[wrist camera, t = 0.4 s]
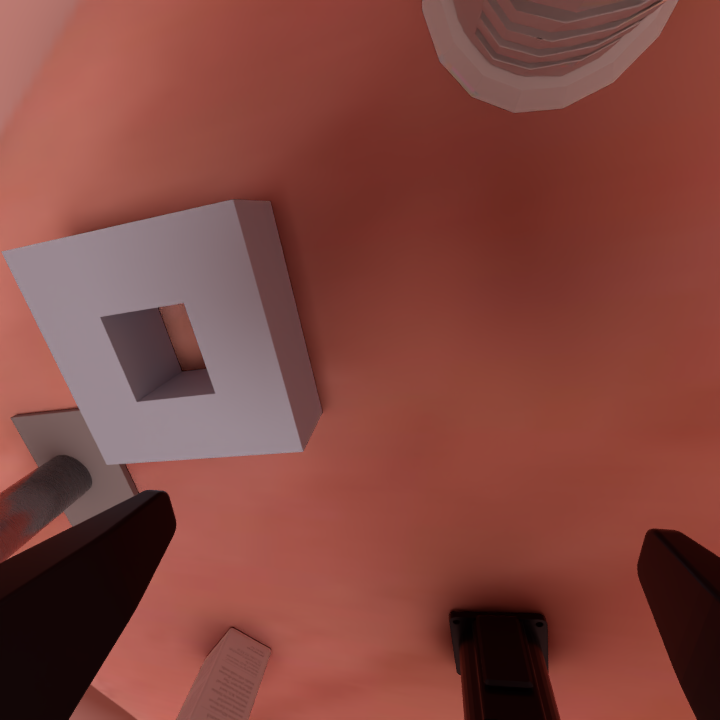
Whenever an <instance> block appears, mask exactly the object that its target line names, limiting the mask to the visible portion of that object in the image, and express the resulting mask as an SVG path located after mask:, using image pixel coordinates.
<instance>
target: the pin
mask: <svg viewBox="0 0 720 720" xmlns="http://www.w3.org/2000/svg"><path fill="white" fill-rule="evenodd" d="M91 486H92V478H91V475H90V473H89V471H88V470H87V468H86V467H85V466H84V465H83V464H82V463H81V462H79V461H78V460H76V459H75V458H73V457H70V456H67V455H57V456H55V457H53V458H52V459H50V460H49V461H47V462H46V463H44V464H43V465H41V466H40V467H38V468H37V469H35V470H34V471H32V472H31V473H29V474H28V475H26V476H25V477H23V478H22V479H20V480H19V481H17V482H16V483H14V484H13V485H12V486H10V487H9V488H7V489H6V490H4V491H3V492H1V493H0V563H1V562H3V561H5V560H6V559H8V558H9V557H10V556H11V555H12V554H13V553H15V552H16V551H17V550H18V549H19V548H21V547H22V546H23V545H24V544H25V543H27V542H28V541H29V540H30V539H31V538H32V537H34V536H35V535H36V534H37V533H38V532H40V531H41V530H42V529H43V528H44V527H46V526H47V525H48V524H49V523H50V522H52V521H53V520H54V519H55V518H56V517H57V516H59V515H60V514H61V513H62V512H63V511H65V510H66V509H67V508H68V507H69V506H71V505H72V504H73V503H74V502H75V501H76V500H78V499H79V498H80V497H81V496H82V495H84V494H85V493H86V492H87V491H88V490H89V489H90V488H91Z"/></svg>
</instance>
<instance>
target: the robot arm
mask: <svg viewBox="0 0 720 720" xmlns="http://www.w3.org/2000/svg"><path fill="white" fill-rule="evenodd" d="M175 530H176V519H175V515H174V511H173V508H172V504H171V501H170V497H169V495H168V494H167V493H166V492H165V491H159V490H145V491H143V492H141V493H139V494H137V495H135V496H133V497H131V498H129V499H127V500H125V501H123V502H121V503H119V504H117V505H115V506H113V507H111V508H109V509H107V510H105V511H103V512H101V513H99V514H97V515H95V516H93V517H91V518H89V519H87V520H85V521H83V522H81V523H79V524H77V525H75V526H73V527H71V528H69V529H67V530H65V531H63V532H61V533H59V534H57V535H55V536H53V537H51V538H49V539H47V540H45V541H43V542H41V543H39V544H37V545H35V546H33V547H31V548H29V549H27V550H25V551H23V552H21V553H19V554H17V555H15V556H13V557H11V558H9V559H7V560H5V561H3V562H1V563H0V720H69V718H70V717H71V715H72V713H73V712H74V710H75V708H76V707H77V705H78V703H79V702H80V700H81V699H82V697H83V695H84V694H85V692H86V690H87V689H88V687H89V686H90V684H91V682H92V681H93V679H94V677H95V676H96V674H97V672H98V671H99V669H100V668H101V666H102V664H103V663H104V661H105V659H106V658H107V656H108V655H109V653H110V651H111V650H112V648H113V646H114V645H115V643H116V641H117V640H118V638H119V637H120V635H121V633H122V632H123V630H124V628H125V627H126V625H127V624H128V622H129V620H130V618H131V617H132V615H133V613H134V612H135V610H136V608H137V606H138V604H139V602H140V601H141V599H142V597H143V595H144V593H145V591H146V589H147V587H148V585H149V583H150V581H151V579H152V577H153V575H154V573H155V571H156V569H157V567H158V565H159V563H160V561H161V559H162V557H163V555H164V553H165V551H166V549H167V547H168V545H169V543H170V541H171V539H172V537H173V535H174V533H175ZM637 571H638V577H639V580H640V583H641V585H642V588H643V591H644V593H645V596H646V598H647V601H648V604H649V606H650V609H651V611H652V614H653V616H654V619H655V622H656V624H657V627H658V629H659V632H660V635H661V637H662V640H663V642H664V645H665V648H666V650H667V653H668V655H669V658H670V661H671V663H672V666H673V668H674V671H675V673H676V675H677V678H678V680H679V683H680V685H681V687H682V689H683V691H684V694H685V696H686V698H687V700H688V702H689V704H690V706H691V708H692V710H693V712H694V714H695V716H696V719H697V720H720V557H718V556H717V555H715V554H714V553H712V552H711V551H709V550H707V549H706V548H704V547H703V546H701V545H700V544H698V543H697V542H695V541H694V540H692V539H691V538H689V537H688V536H686V535H684V534H683V533H681V532H679V531H676V530H667V529H650V530H648V531H647V533H646V535H645V538H644V542H643V545H642V549H641V553H640V556H639V560H638V564H637ZM449 623H450V630H451V636H452V643H453V650H454V656H455V663H456V670H457V673H458V674H459V675H461V683H462V695H463V708H464V720H560V716H559V712H558V708H557V705H556V701H555V697H554V693H553V690H552V686H551V682H550V678H549V675H548V629H547V622H546V618H545V616H543V615H542V614H530V613H490V612H452V613H450V614H449Z"/></svg>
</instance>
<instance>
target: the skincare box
mask: <svg viewBox="0 0 720 720" xmlns="http://www.w3.org/2000/svg"><path fill="white" fill-rule="evenodd" d="M270 654H271V650H270V648H268V647H266V646H265V645H263V644H261V643H259V642H257V641H255V640H254V639H252V638H250V637H248V636H247V635H245V634H243V633H242V632H240V631H238V630H236V629H234V628H230V630H229V631H228V632H227V633H226V634H225V636H224V637H223V638H222V639H221V640H220V642H219V643H218V644H217V645H216V646H215V648H214V649H213V650H212V651H211V653H210V654H209V655H208V656H207V657H206V658H205V660H204V662H203V664H202V666H201V668H200V670H199V673H198V675H197V677H196V679H195V681H194V683H193V685H192V687H191V689H190V691H189V693H188V695H187V698H186V700H185V702H184V704H183V706H182V708H181V710H180V712H179V714H178V717H177V719H176V720H248V719H249V716H250V713H251V710H252V707H253V704H254V701H255V698H256V695H257V692H258V689H259V687H260V684H261V681H262V678H263V675H264V672H265V668H266V665H267V662H268V659H269V657H270Z"/></svg>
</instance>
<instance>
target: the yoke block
mask: <svg viewBox="0 0 720 720" xmlns="http://www.w3.org/2000/svg"><path fill="white" fill-rule="evenodd" d="M2 254H3V256H4V258H5V260H6V262H7V264H8V266H9V268H10V270H11V272H12V274H13V276H14V278H15V280H16V282H17V284H18V286H19V288H20V290H21V292H22V294H23V296H24V298H25V300H26V302H27V304H28V306H29V308H30V311H31V313H32V315H33V317H34V319H35V321H36V323H37V325H38V327H39V329H40V331H41V333H42V335H43V337H44V339H45V341H46V343H47V345H48V347H49V349H50V351H51V353H52V355H53V357H54V359H55V361H56V363H57V365H58V367H59V369H60V371H61V373H62V375H63V377H64V379H65V381H66V383H67V385H68V387H69V389H70V391H71V393H72V395H73V398H74V400H75V402H76V404H77V406H78V408H79V410H80V412H81V414H82V416H83V418H84V420H85V422H86V424H87V426H88V428H89V430H90V432H91V434H92V436H93V438H94V440H95V442H96V444H97V446H98V448H99V450H100V452H101V454H102V456H103V458H104V460H105V462H106V464H107V465H113V464H128V463H143V462H158V461H172V460H187V459H202V458H217V457H232V456H246V455H261V454H276V453H291V452H303V451H304V449H305V447H306V445H307V443H308V441H309V439H310V437H311V435H312V433H313V431H314V429H315V427H316V425H317V423H318V421H319V419H320V417H321V415H322V413H323V412H322V408H321V404H320V400H319V396H318V392H317V388H316V384H315V380H314V376H313V372H312V368H311V364H310V360H309V356H308V352H307V348H306V344H305V339H304V335H303V331H302V327H301V323H300V319H299V315H298V311H297V307H296V303H295V299H294V295H293V291H292V287H291V283H290V279H289V275H288V271H287V266H286V262H285V258H284V254H283V250H282V246H281V242H280V238H279V234H278V230H277V226H276V222H275V218H274V214H273V210H272V206H271V202H270V201H258V200H237V199H232V200H228V201H223V202H219V203H214V204H210V205H206V206H201V207H197V208H192V209H188V210H184V211H179V212H175V213H170V214H166V215H161V216H157V217H153V218H148V219H144V220H139V221H135V222H131V223H126V224H122V225H117V226H113V227H109V228H104V229H100V230H95V231H91V232H86V233H82V234H78V235H73V236H69V237H64V238H60V239H56V240H51V241H47V242H42V243H38V244H33V245H29V246H25V247H20V248H16V249H11V250H7V251H3V252H2ZM181 303H184V305H185V308H186V311H187V314H188V316H189V319H190V322H191V325H192V328H193V331H194V334H195V336H196V339H197V342H198V345H199V348H200V351H201V354H202V357H203V359H204V362H205V365H206V368H207V369H199V370H191V371H183V372H182V371H181V368H180V365H179V363H178V360H177V357H176V355H175V352H174V349H173V347H172V344H171V341H170V339H169V336H168V333H167V331H166V328H165V325H164V323H163V320H162V317H161V315H160V312H159V309H158V307H163V306H169V305H175V304H181Z"/></svg>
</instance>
